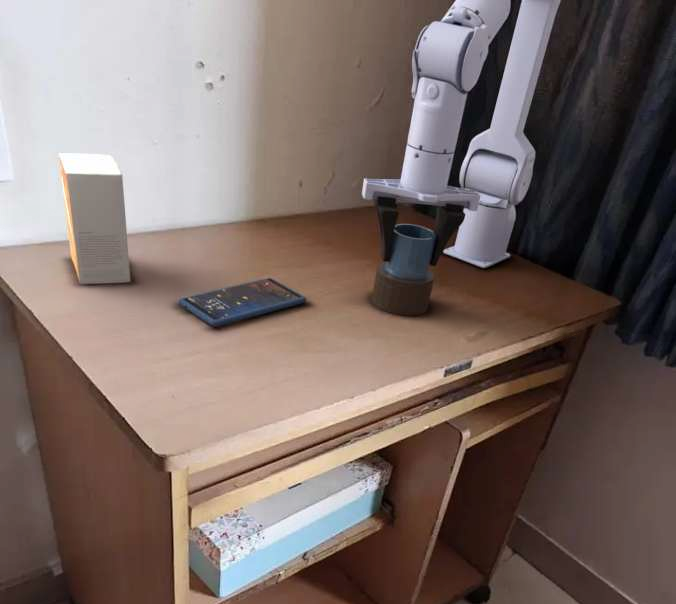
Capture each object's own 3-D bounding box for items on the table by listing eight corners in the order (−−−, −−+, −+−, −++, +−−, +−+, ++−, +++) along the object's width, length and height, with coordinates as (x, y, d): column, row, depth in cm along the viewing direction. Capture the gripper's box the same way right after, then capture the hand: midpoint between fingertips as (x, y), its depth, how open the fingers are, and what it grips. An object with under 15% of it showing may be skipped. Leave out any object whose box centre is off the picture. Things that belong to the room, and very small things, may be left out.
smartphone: (308, 297, 86) (213, 322, 77) (307, 303, 87) (213, 329, 78) (270, 276, 90) (176, 298, 81) (269, 282, 90) (176, 304, 81)
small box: (71, 259, 88) (57, 152, 79) (120, 258, 90) (112, 154, 82) (78, 285, 82) (65, 172, 74) (131, 283, 85) (123, 173, 76)
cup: (400, 259, 91) (407, 220, 88) (435, 273, 89) (444, 234, 86) (376, 268, 87) (383, 228, 84) (412, 283, 85) (421, 242, 82)
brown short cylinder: (392, 287, 95) (398, 256, 92) (437, 306, 92) (445, 274, 89) (360, 300, 90) (365, 267, 87) (407, 321, 87) (414, 287, 84)
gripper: (376, 148, 74) (358, 267, 83) (498, 163, 77) (468, 277, 85) (367, 134, 80) (350, 247, 88) (481, 148, 82) (454, 257, 91)
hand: (408, 261), depth 87 cm, fingers closed on cup, 6 cm apart
